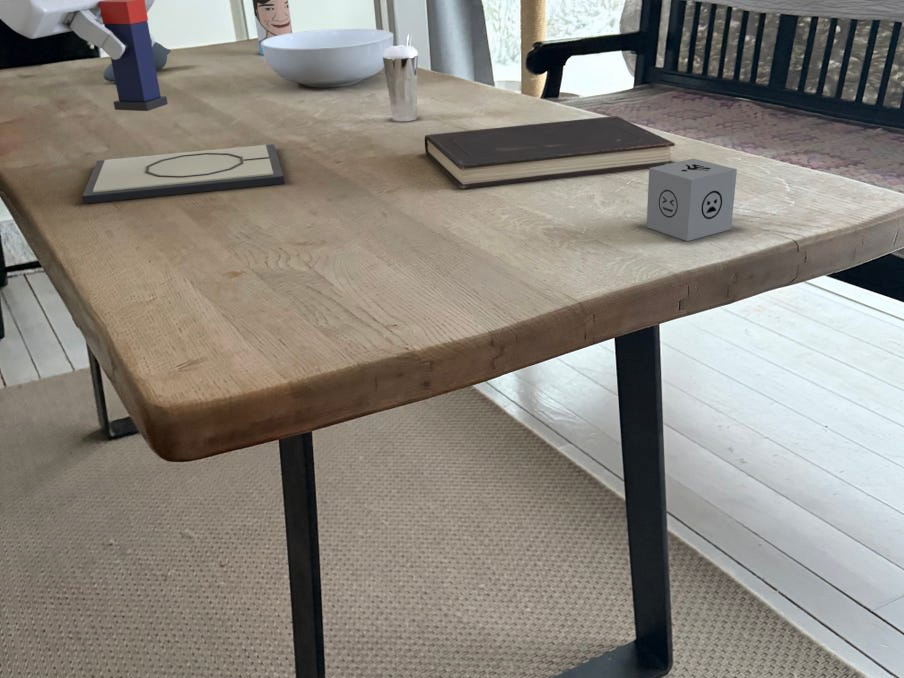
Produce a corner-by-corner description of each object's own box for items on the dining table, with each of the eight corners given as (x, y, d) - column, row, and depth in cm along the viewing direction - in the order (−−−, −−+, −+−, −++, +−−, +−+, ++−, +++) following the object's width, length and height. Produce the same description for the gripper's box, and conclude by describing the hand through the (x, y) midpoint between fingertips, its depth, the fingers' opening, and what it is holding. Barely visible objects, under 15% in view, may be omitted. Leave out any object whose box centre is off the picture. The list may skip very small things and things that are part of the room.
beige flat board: (83, 204, 95) (81, 193, 95) (98, 167, 109) (96, 157, 108) (284, 183, 99) (283, 173, 99) (275, 150, 113) (273, 141, 112)
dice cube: (731, 229, 80) (736, 169, 78) (687, 241, 78) (691, 179, 76) (689, 216, 84) (693, 158, 81) (646, 227, 82) (649, 168, 79)
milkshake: (430, 115, 128) (425, 34, 123) (412, 123, 123) (406, 40, 118) (400, 113, 129) (394, 34, 124) (381, 121, 125) (374, 39, 120)
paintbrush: (126, 84, 160) (119, 53, 158) (99, 85, 161) (92, 53, 159) (179, 66, 177) (174, 37, 174) (154, 67, 178) (149, 38, 175)
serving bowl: (240, 87, 153) (233, 41, 150) (337, 68, 167) (333, 26, 163) (326, 99, 141) (320, 49, 138) (423, 77, 155) (420, 31, 151)
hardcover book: (673, 165, 100) (674, 142, 98) (460, 189, 95) (459, 165, 93) (613, 135, 113) (614, 114, 112) (425, 154, 108) (423, 133, 107)
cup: (261, 56, 185) (248, -31, 177) (259, 51, 190) (247, -32, 183) (296, 53, 186) (285, -33, 178) (293, 49, 192) (282, -35, 184)
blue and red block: (114, 109, 97) (93, 1, 92) (135, 102, 100) (116, -2, 95) (147, 111, 96) (127, 2, 91) (167, 104, 99) (149, -2, 94)
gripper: (78, -39, 103) (176, 59, 105) (-62, -24, 86) (58, 92, 88) (104, -87, 100) (204, 14, 102) (-36, -82, 83) (88, 40, 85)
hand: (136, 50), depth 95 cm, fingers closed on blue and red block, 3 cm apart
